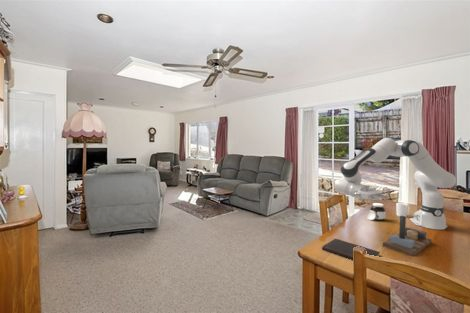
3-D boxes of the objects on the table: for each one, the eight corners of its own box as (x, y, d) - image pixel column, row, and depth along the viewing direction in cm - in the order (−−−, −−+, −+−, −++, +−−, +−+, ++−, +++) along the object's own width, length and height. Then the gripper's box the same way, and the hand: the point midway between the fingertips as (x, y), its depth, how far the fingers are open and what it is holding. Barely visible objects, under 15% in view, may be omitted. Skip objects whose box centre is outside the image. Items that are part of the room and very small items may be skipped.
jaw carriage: (411, 248, 120) (412, 219, 120) (389, 241, 129) (390, 214, 128) (414, 246, 123) (415, 218, 122) (393, 240, 131) (394, 213, 130)
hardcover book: (335, 242, 135) (335, 238, 135) (379, 256, 118) (379, 251, 118) (321, 250, 124) (321, 246, 124) (368, 267, 107) (368, 262, 107)
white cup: (409, 218, 178) (410, 205, 177) (397, 216, 180) (397, 204, 180) (405, 215, 185) (406, 202, 185) (394, 214, 188) (394, 202, 187)
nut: (404, 236, 137) (405, 229, 137) (414, 237, 136) (414, 230, 136) (409, 239, 132) (410, 233, 132) (419, 240, 131) (419, 233, 131)
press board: (412, 256, 117) (413, 244, 116) (382, 246, 128) (383, 235, 128) (431, 242, 132) (431, 232, 132) (403, 235, 144) (403, 225, 144)
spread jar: (386, 219, 175) (386, 204, 174) (383, 223, 166) (384, 207, 166) (368, 216, 183) (368, 201, 182) (365, 219, 174) (365, 204, 173)
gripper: (353, 187, 135) (379, 194, 124) (367, 186, 148) (392, 192, 138) (351, 197, 136) (377, 205, 125) (365, 195, 149) (389, 202, 138)
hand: (385, 198), depth 131 cm, fingers open, 8 cm apart
